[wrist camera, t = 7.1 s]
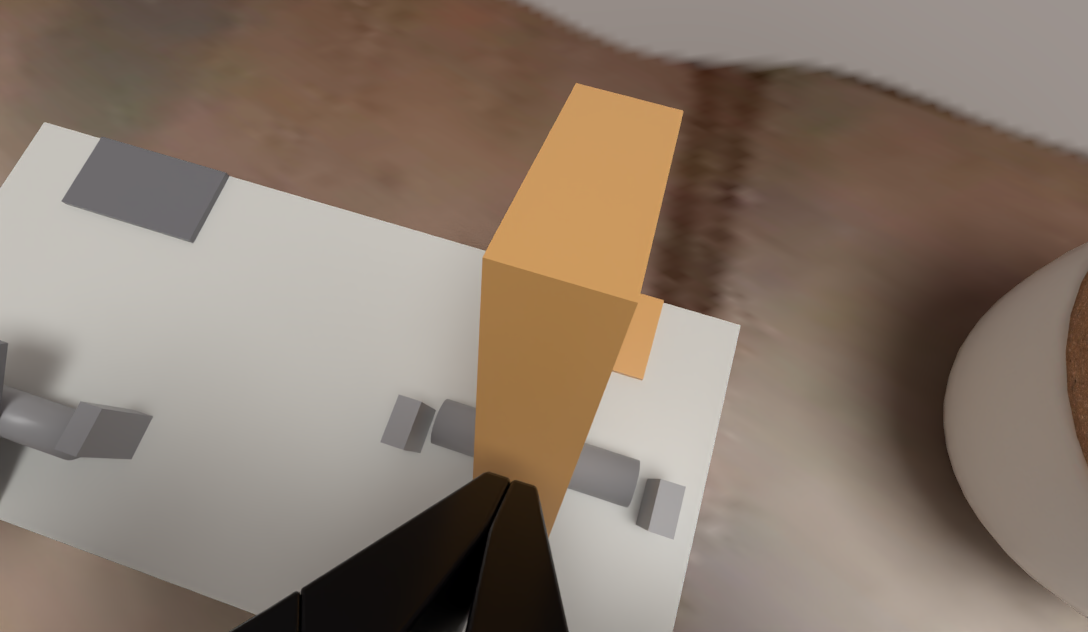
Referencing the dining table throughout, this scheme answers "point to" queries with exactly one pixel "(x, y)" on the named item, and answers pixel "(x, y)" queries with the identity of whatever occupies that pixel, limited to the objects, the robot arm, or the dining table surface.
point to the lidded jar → (1029, 424)
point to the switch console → (299, 386)
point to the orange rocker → (565, 300)
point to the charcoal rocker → (31, 416)
